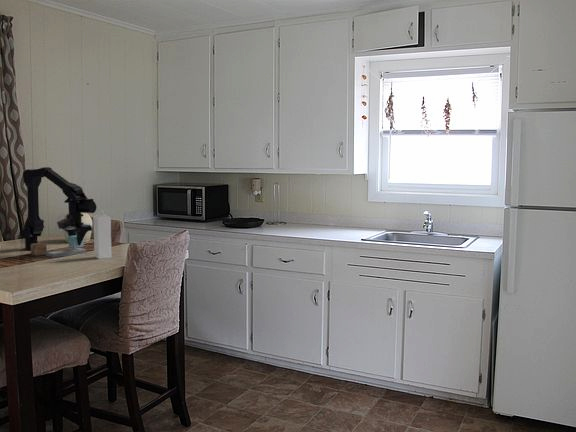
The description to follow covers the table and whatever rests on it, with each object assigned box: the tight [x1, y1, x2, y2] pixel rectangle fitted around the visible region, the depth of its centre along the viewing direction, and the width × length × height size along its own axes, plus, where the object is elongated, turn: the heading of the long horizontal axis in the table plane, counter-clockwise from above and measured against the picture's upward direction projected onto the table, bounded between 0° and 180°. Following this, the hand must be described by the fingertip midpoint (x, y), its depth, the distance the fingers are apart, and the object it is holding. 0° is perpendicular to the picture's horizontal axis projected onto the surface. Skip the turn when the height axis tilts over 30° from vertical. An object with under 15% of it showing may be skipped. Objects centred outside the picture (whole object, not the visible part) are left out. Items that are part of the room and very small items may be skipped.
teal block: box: [67, 235, 85, 249], centre depth 276 cm, size 5×5×5 cm
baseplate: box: [45, 247, 88, 259], centre depth 272 cm, size 7×17×2 cm, turn 143°
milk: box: [92, 209, 112, 260], centre depth 264 cm, size 6×6×22 cm
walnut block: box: [30, 242, 48, 256], centre depth 272 cm, size 5×5×5 cm
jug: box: [62, 212, 93, 243], centre depth 309 cm, size 15×16×25 cm
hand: (76, 244), depth 276 cm, fingers closed on teal block, 5 cm apart
